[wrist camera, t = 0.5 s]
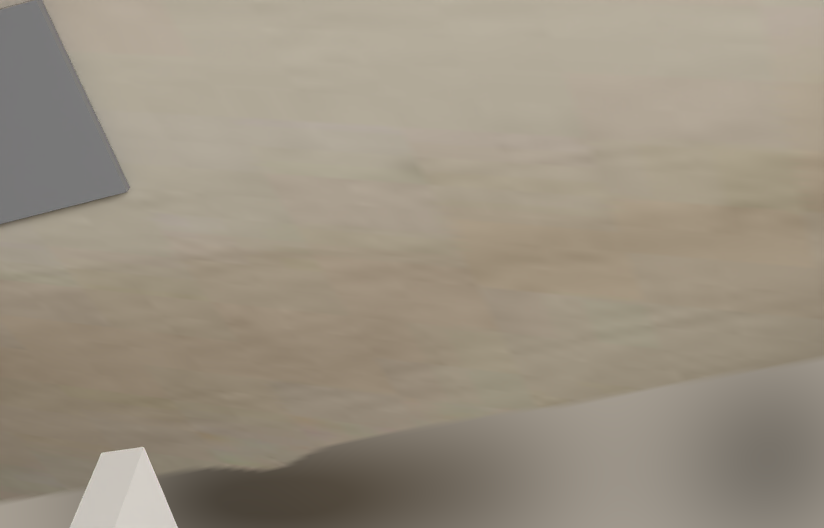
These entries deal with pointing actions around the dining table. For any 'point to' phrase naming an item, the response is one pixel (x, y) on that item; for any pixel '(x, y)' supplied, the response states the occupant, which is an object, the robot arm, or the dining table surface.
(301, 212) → the dining table surface
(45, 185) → the slate coaster
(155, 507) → the robot arm
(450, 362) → the dining table surface
